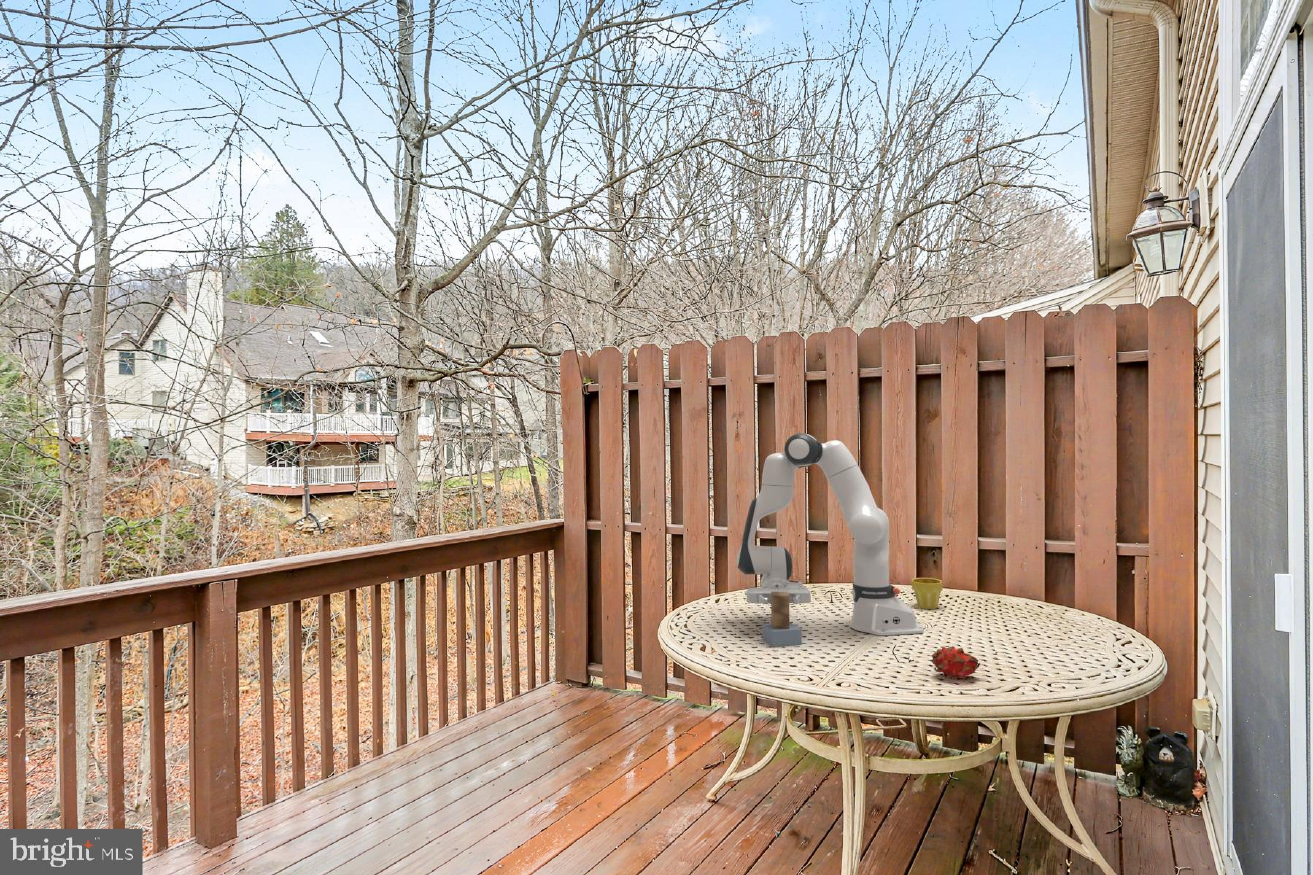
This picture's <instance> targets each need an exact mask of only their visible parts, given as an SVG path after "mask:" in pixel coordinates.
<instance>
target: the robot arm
mask: <svg viewBox="0 0 1313 875" xmlns="http://www.w3.org/2000/svg"><path fill="white" fill-rule="evenodd" d="M814 464H816V465H817V466H819V467H820V469H821V470H822V472H823V474H824V475H825V478H826V479H827V482H828V484H829V486H830V487H831V490H832V492H833V494H834V495H835V497H836V500H837V503H838V504H839V507H840V510H841V513H842V515H843V518H844V521H845V523H846V525H847V528H848V530H849V532H850V535H851V537H852V538H853V539H854V544H853V545H854V547H853V548H854V549H853V558H852V564H853V583H852V588H851V590H852V591H851V592H852V593H851V594H852V600H853V606H852V607H853V610H852V615H851V621H850V624H849V627H850V628H852V629H853V630H856V631H859V632H863V633H868V634H872V635H875V636H896V635H911V634H915V635H916V634H923V633H924V632H925V628H924V626H923V624H921V623H920V622H918V621H917V619H916V615H915V612H914V610H913V609H912V608H911V607H910V606H909V605H908V604H907V603H905V602H904V601H903V600H901V599H900V598H899V597H897V596H898V595H900V593H901V590H900V588H898V587H896V586H893V585H892V584H891V583H890V569H889V568H890V563H889V561H890V560H889V557H890V520H889V517H888V515H887V514H886V513H887V512H885V511H884V510H882V509H881V508H879V507H878V506H877V504H876V501H875V498H874V497H873V495H872V492H871V488H870V486H869V483H868V482H867V479H866V478H865V476H864V474H863V472H862V470H861V468H860V466H859V465H858V463H857V461H856V459H855V458H854V456H853V454H852V453H851V451H850V450H849V449H848V447H847V446H846V445H845V443H844V442H842V441H840V440H836V439H835V440H829V441H826V442H824V443H821V442H820V441H818V440H817V439H816V438H815V437H814V436H812V435H811V434H807V433H803V432H797V433H795V434H792V435H791V436H790V437H788V439H787V440H786V441H785V443H784V451H783V452H774V453H772V454H769V455H768V456H767V457H766V458H765V461H764V464H763V469H762V470H763V471H762V476H761V488H760V491H759V494H758V495H757V497H755V498H754V499H752V500H751V503H750V506H749V508H748V513H747V517H746V521H745V525H744V530H743V534H742V539H741V544H740V547H739V549H738V552H737V555H736V566H737V567H736V568H737V569H738V570H739V571H740V572H741V573H742V574H744V575H746V576H747V575H750V576H751V575H762V576H761V579H760V587H750V588H748V589H747V590H746V591H744V595H745V596H746V602H747V603H749V604H762V605H768V604H769V605H771V592H788V594H789V604H793V605H798V604H810V603H811V602H812V601H811V600H812V599H811V598H812V596H811V591H810V589H809V588H808V587H807V586H805V585H803V582H802V581H796V580H790V578H791V577H792V573H793V560H792V556H791V553H790V551H789V550H788V549H787V548H785V547H784V546H774V545H773V546H771V545H770V546H767V545H755V543H754V541H755V537H756V533H757V527H758V524H759V522H760V520H762V518H764V517H766V516H769V515H772V514H775V513H778V512H781V511H783V510H784V509H786V508H787V507H789V506H790V504H792V501H793V499H794V498H793V497H794V493H795V492H794V490H795V474H796V472H797V470H798V469H801V468H805V467H809V466H812V465H814ZM896 595H897V596H896Z"/></svg>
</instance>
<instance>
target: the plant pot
mask: <svg viewBox="0 0 1313 875" xmlns="http://www.w3.org/2000/svg"><path fill="white" fill-rule="evenodd" d="M911 589H912V590H913V591H914V596H915V599H916V604H917V607H918V608H919V607H921V608H920V609H922V608H925V609H924V610H937V609H938V607H939V602H940V597H941V592H942V591H943V581H942V580H941V579H938V578H933V577H915V578H912V579H911Z"/></svg>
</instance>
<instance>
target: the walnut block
mask: <svg viewBox="0 0 1313 875" xmlns="http://www.w3.org/2000/svg"><path fill="white" fill-rule="evenodd" d="M770 611H771V612H770V615H771V616H770V623H771V625H772V628H779V629H789V622H790V603H789V594H788V592H771V604H770Z"/></svg>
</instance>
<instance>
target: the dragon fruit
mask: <svg viewBox="0 0 1313 875" xmlns="http://www.w3.org/2000/svg"><path fill="white" fill-rule="evenodd" d="M939 647H940V648H939V649H937V650H936V652H934V653H932V656H931V657H932V659H931V663H932V664H933V665H934V668H933V670H934V671H935V672H936V673H943V676H944V677H945V678H949V677H950V678H951V679H953V680H957V679H964V680H965V681H967V680H971V679H973V676H972V674H974V673H976V671H977V669H979V667H980V666H981V663H980V662H979V660H978V658H977V657H975V656H973V655H971V654H970V653H966V652H965V650H964V648H962V647H960V648H958V649H956V647H955V646H949V647H947V648H946V647H945V646H943V645H942V646H939Z"/></svg>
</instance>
